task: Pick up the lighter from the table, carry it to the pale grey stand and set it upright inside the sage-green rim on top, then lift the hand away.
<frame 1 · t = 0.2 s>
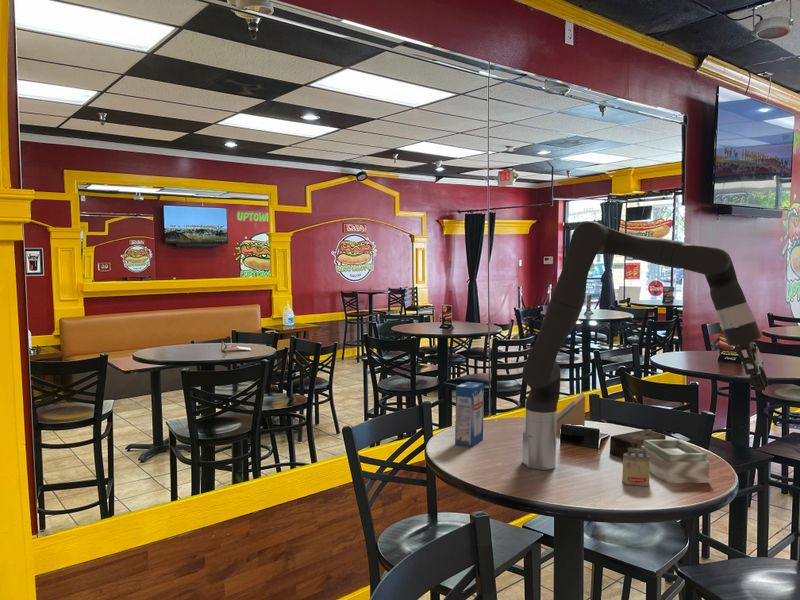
hand: (762, 387, 137), 31 cm above the table, tool tilted 20°, fingers open, 8 cm apart
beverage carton: (637, 454, 183), on the table
stand: (673, 473, 164), on the table
lighter: (635, 484, 156), on the table
milk carton: (469, 442, 193), on the table
sandwich container: (561, 432, 207), on the table
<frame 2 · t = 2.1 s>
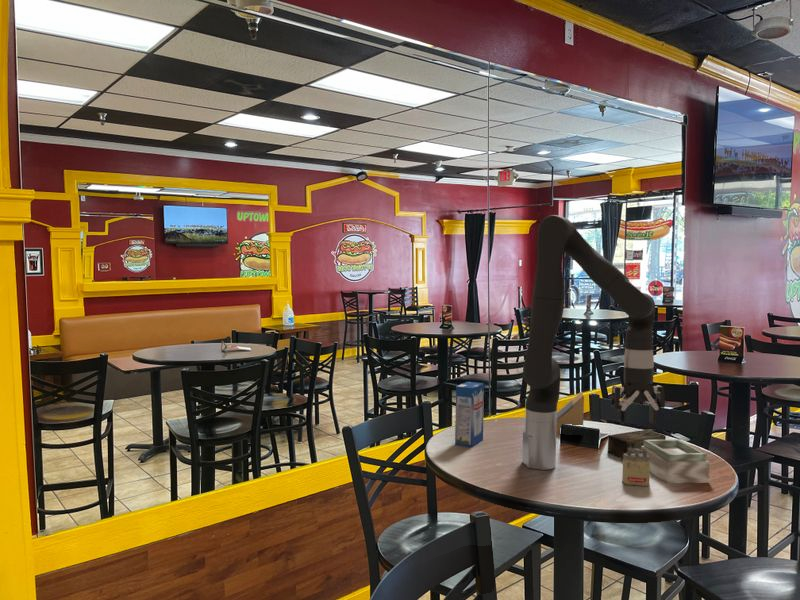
hand: (637, 423, 155), 17 cm above the table, tool pointing down, fingers open, 8 cm apart
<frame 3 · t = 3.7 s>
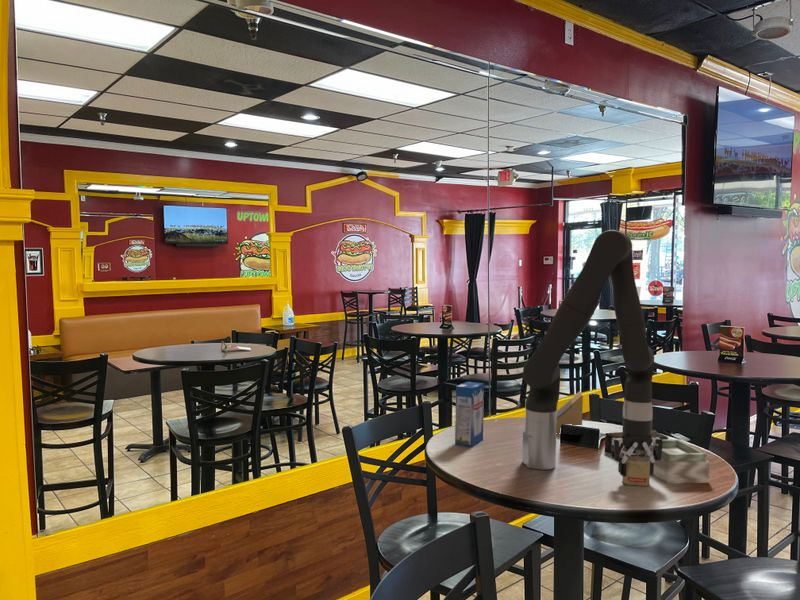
hand: (635, 475, 156), 2 cm above the table, tool pointing down, fingers closed on lighter, 7 cm apart
lighter: (635, 484, 156), on the table, touching gripper
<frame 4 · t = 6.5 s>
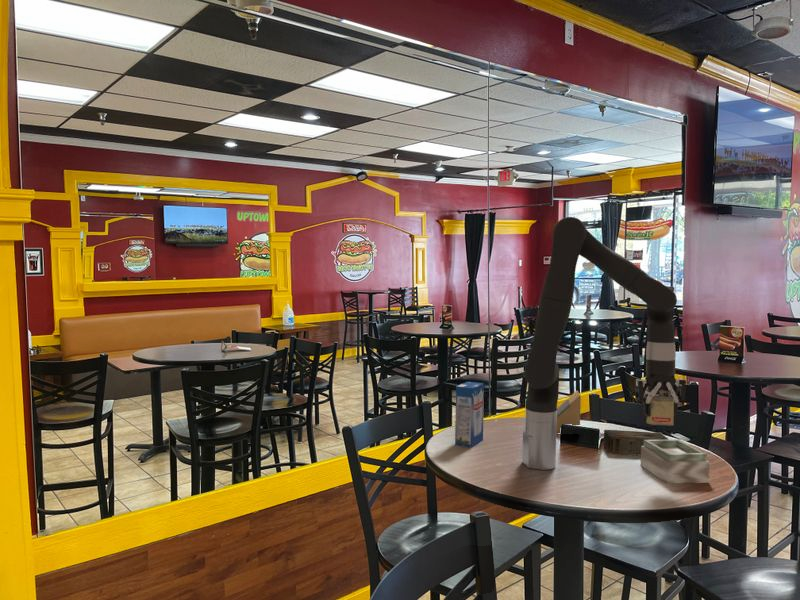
hand: (659, 415, 159), 18 cm above the table, tool pointing down, fingers closed on lighter, 7 cm apart
lighter: (659, 424, 159), point 16 cm above the table, touching gripper
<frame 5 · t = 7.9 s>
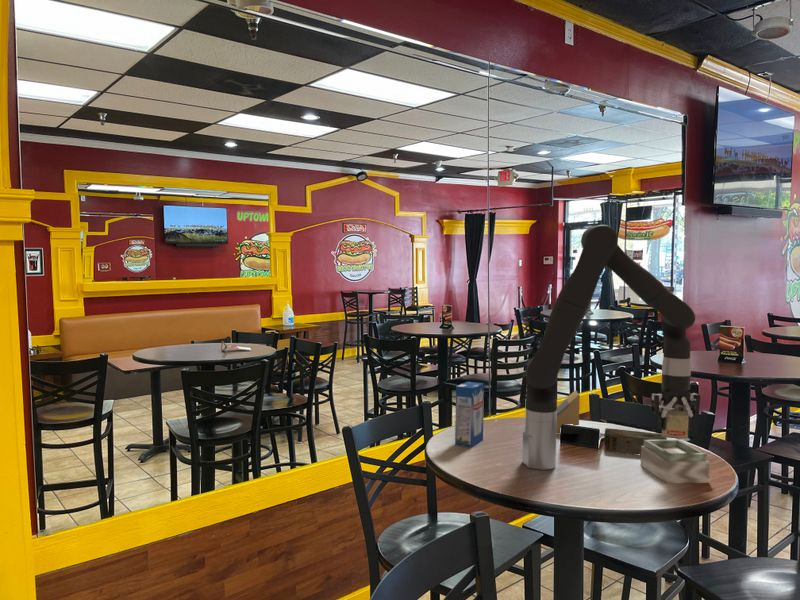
hand: (674, 429, 164), 13 cm above the table, tool pointing down, fingers closed on lighter, 7 cm apart
lighter: (674, 437, 164), point 11 cm above the table, touching gripper
when the fingers open (10 cm above the table, at t = 9.1 s): lighter drops 1 cm, resting on stand.
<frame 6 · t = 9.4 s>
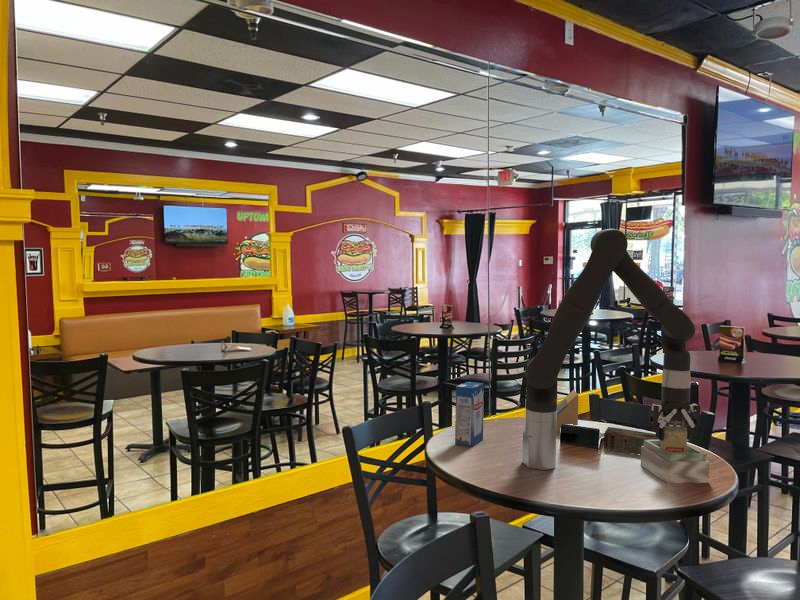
hand: (674, 439, 164), 10 cm above the table, tool pointing down, fingers open, 8 cm apart
lighter: (673, 454, 164), point 6 cm above the table, touching stand
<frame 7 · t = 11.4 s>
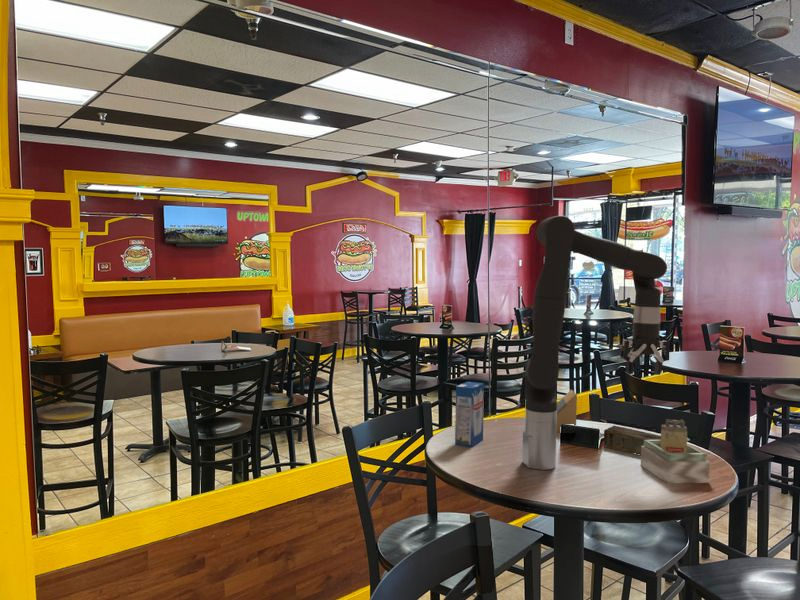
hand: (643, 374, 172), 28 cm above the table, tool pointing down, fingers open, 8 cm apart
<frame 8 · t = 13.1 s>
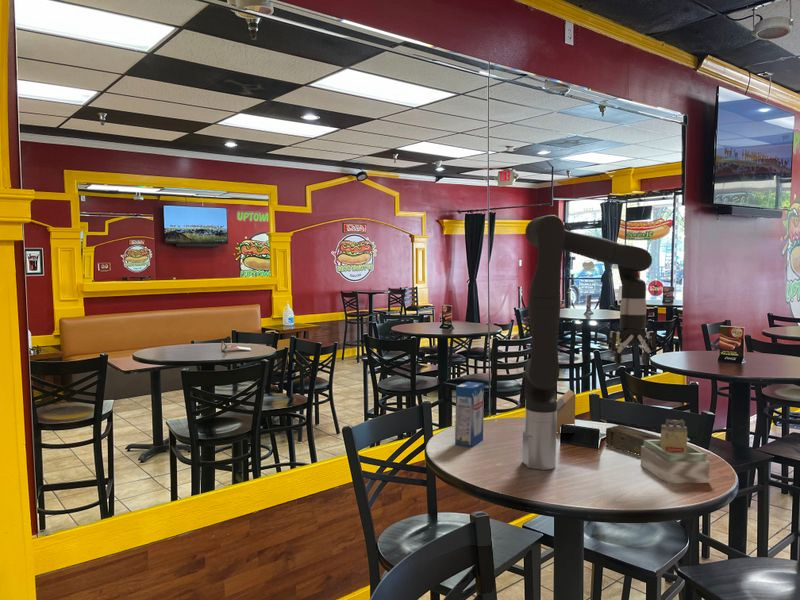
hand: (631, 364, 175), 30 cm above the table, tool pointing down, fingers open, 8 cm apart
at the end: lighter inside the target area on the stand (0.2 cm from its centre), point 5.8 cm above the stand's base; lighter tilted 0°; the gripper is holding nothing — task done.
